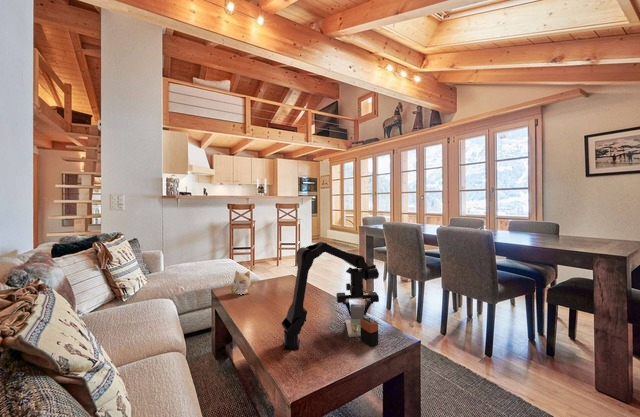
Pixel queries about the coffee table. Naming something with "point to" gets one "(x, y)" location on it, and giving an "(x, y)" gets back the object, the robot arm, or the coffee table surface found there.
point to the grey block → (356, 313)
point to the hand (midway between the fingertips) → (357, 315)
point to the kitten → (242, 283)
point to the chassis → (353, 329)
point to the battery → (369, 331)
